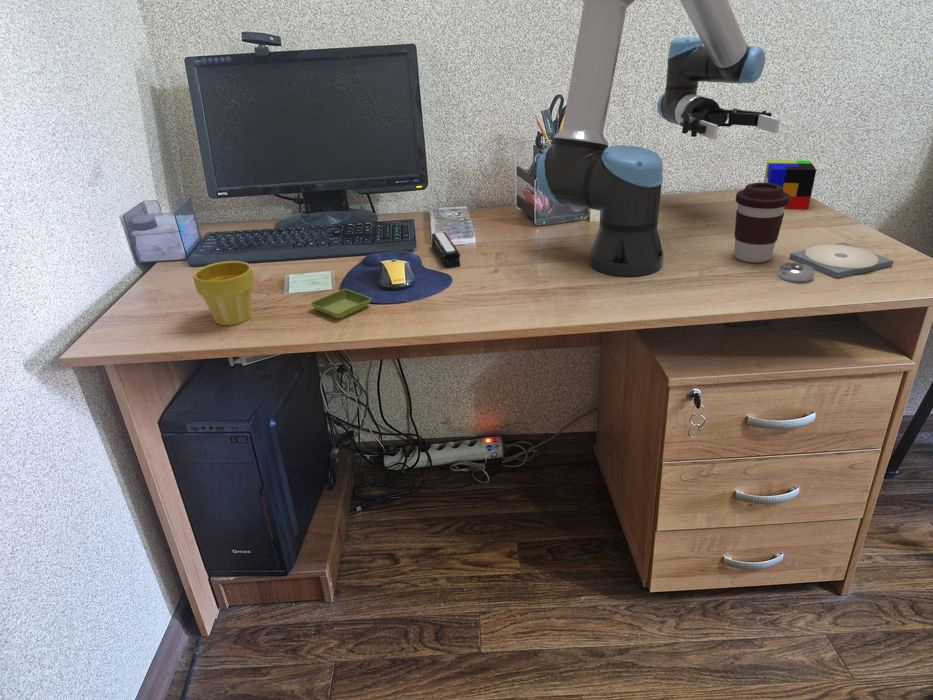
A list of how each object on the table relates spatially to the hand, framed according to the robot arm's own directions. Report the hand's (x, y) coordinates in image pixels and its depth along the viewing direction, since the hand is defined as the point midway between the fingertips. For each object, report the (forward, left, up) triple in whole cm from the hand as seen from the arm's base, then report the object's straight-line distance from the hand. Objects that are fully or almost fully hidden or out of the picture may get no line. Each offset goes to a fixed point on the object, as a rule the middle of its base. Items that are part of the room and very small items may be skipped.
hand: (746, 129), depth 131 cm
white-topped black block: (-59, +23, -25) cm, 69 cm away
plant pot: (-107, +8, -24) cm, 110 cm away
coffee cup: (-2, -10, -24) cm, 26 cm away
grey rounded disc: (-2, -22, -25) cm, 33 cm away
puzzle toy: (+31, +17, -25) cm, 43 cm away
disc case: (+11, -20, -24) cm, 33 cm away
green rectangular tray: (-87, +3, -25) cm, 91 cm away
